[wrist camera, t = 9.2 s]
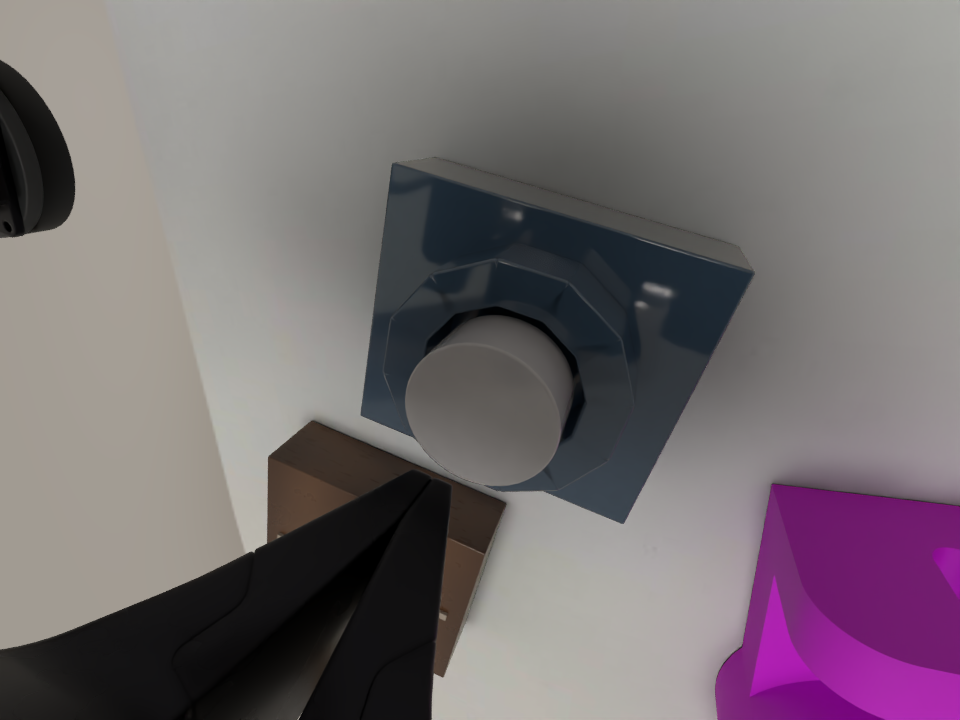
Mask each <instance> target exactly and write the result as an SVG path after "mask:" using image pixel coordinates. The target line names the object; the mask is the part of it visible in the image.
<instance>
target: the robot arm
mask: <svg viewBox="0 0 960 720" xmlns="http://www.w3.org/2000/svg"><path fill="white" fill-rule="evenodd" d="M0 233H1V234H4V235H6V236H9V237H18V236H23V235H24V234H25V227H24V222H23V218H22V214H21V210H20V206H19V201H18V197H17V193H16V189H15V184H14V180H13V176H12V172H11V168H10V163H9V159H8V155H7V151H6V147H5V142H4V138H3V134H2V130H1V126H0ZM452 488H453V487H452V485H451V484H450V483H447V482H445V481H443V480H440V479H438V478H433V479H432V477H431V476H430V475H429V474H426V473H424V472H422V471H419V470H417V469H412V470H410V471H408V472H406V473H404V474H402V475H400V476H398V477H396V478H394V479H392V480H390V481H388V482H386V483H384V484H382V485H380V486H379V487H377V488H375V489H373V490H371V491H369V492H367V493H365V494H363V495H361V496H359V497H357V498H355V499H353V500H351V501H349V502H347V503H345V504H343V505H341V506H339V507H338V508H336V509H334V510H332V511H330V512H328V513H326V514H324V515H322V516H320V517H318V518H316V519H314V520H312V521H310V522H308V523H306V524H304V525H302V526H300V527H298V528H296V529H295V530H293V531H291V532H289V533H287V534H285V535H283V536H281V537H279V538H277V539H275V540H273V541H271V542H269V543H267V544H265V545H263V546H261V547H259V548H257V549H256V550H255V553H254V552H249V553H247V554H245V555H243V556H241V557H239V558H237V559H236V560H234V561H232V562H230V563H228V564H226V565H223V566H221V567H219V568H217V569H215V570H213V571H211V572H209V573H207V574H205V575H203V576H201V577H199V578H196V579H194V580H192V581H189V582H187V583H185V584H182V585H180V586H178V587H175V588H173V589H171V590H169V591H166V592H164V593H161V594H159V595H157V596H154V597H151V598H149V599H146V600H144V601H142V602H139V603H137V604H134V605H132V606H129V607H127V608H124V609H122V610H119V611H117V612H115V613H112V614H110V615H107V616H105V617H102V618H100V619H97V620H95V621H92V622H90V623H87V624H85V625H83V626H80V627H77V628H75V629H73V630H70V631H67V632H65V633H62V634H59V635H57V636H54V637H51V638H48V639H44V640H41V641H38V642H34V643H30V644H27V645H23V646H18V647H13V648H8V649H2V650H0V720H297V719H298V718H299V716H300V715H301V716H300V718H299V720H432V689H433V675H434V663H435V654H436V640H437V632H438V623H439V613H440V604H441V594H442V585H443V575H444V565H445V556H446V546H447V537H448V527H449V518H450V508H451V499H452ZM301 713H302V714H301Z"/></svg>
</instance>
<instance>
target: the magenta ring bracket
mask: <svg viewBox="0 0 960 720" xmlns="http://www.w3.org/2000/svg"><path fill="white" fill-rule="evenodd" d="M715 695H716V706H717V717H718V720H960V506H953V505H945V504H936V503H928V502H919V501H911V500H902V499H894V498H886V497H877V496H869V495H860V494H852V493H843V492H835V491H827V490H818V489H810V488H801V487H793V486H785V485H776V484H772V486H771V491H770V497H769V502H768V508H767V513H766V519H765V524H764V530H763V535H762V541H761V546H760V552H759V557H758V563H757V568H756V574H755V579H754V585H753V590H752V596H751V601H750V607H749V612H748V618H747V624H746V629H745V635H744V640H743V646H742V648H741V649H739V650H738V651H736V652H735V653H734V654H733V655H732V656H731V657H730V658H729V659H728V660H727V661H726V662H725V663H724V665H723V666H722V668H721V670H720V672H719V674H718V676H717V680H716V686H715Z"/></svg>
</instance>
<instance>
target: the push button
mask: <svg viewBox="0 0 960 720" xmlns="http://www.w3.org/2000/svg"><path fill="white" fill-rule="evenodd" d="M573 397H574V382H573V375H572V372H571V369H570V366H569V364H568V362H567V359H566V357H565V356H564V354H563V353H562V351H561V349H560V348H559V347H558V346H557V345H556V343H555V342H554V341H553V340H552V339H551V338H550V337H549V336H548V335H547V334H545V333H544V332H543V331H541V330H540V329H539V328H537V327H535V326H533V325H532V324H530V323H528V322H525V321H523V320H520V319H517V318H513V317H509V316H503V315H487V316H480V317H476V318H473V319H470V320H468V321H465V322H464V323H462V324H460V325H458V326H457V327H456V328H455V329H453V330H452V331H451V332H450V333H449V334H448V335H447V336H446V337H445V338H444V339H443V340H442V341H441V342H440V343H439V344H437V345H436V346H435V347H434V348H433V349H432V350H431V351H430V352H429V353H428V354H427V355H426V356H425V357H424V358H423V359H422V360H421V361H420V362H419V363H418V364H417V366H416V367H415V369H414V370H413V372H412V373H411V376H410V378H409V380H408V384H407V388H406V395H405V408H406V414H407V418H408V422H409V425H410V427H411V430H412V432H413V434H414V436H415V438H416V439H417V441H418V443H419V444H420V445H421V447H422V448H423V450H424V451H425V452H426V453H427V454H428V455H429V456H430V457H431V458H432V459H433V460H434V461H435V462H436V463H437V464H439V465H440V466H441V467H443V468H444V469H445V470H447V471H449V472H450V473H452V474H454V475H456V476H458V477H460V478H462V479H464V480H467V481H470V482H473V483H477V484H481V485H488V486H507V485H513V484H518V483H521V482H523V481H526V480H528V479H530V478H532V477H534V476H535V475H537V474H538V473H539V472H541V471H542V470H543V469H544V468H545V467H546V466H547V465H548V464H549V463H550V461H551V460H552V458H553V457H554V455H555V453H556V451H557V449H558V446H559V443H560V440H561V437H562V434H563V431H564V428H565V425H566V422H567V419H568V416H569V413H570V410H571V406H572V403H573Z"/></svg>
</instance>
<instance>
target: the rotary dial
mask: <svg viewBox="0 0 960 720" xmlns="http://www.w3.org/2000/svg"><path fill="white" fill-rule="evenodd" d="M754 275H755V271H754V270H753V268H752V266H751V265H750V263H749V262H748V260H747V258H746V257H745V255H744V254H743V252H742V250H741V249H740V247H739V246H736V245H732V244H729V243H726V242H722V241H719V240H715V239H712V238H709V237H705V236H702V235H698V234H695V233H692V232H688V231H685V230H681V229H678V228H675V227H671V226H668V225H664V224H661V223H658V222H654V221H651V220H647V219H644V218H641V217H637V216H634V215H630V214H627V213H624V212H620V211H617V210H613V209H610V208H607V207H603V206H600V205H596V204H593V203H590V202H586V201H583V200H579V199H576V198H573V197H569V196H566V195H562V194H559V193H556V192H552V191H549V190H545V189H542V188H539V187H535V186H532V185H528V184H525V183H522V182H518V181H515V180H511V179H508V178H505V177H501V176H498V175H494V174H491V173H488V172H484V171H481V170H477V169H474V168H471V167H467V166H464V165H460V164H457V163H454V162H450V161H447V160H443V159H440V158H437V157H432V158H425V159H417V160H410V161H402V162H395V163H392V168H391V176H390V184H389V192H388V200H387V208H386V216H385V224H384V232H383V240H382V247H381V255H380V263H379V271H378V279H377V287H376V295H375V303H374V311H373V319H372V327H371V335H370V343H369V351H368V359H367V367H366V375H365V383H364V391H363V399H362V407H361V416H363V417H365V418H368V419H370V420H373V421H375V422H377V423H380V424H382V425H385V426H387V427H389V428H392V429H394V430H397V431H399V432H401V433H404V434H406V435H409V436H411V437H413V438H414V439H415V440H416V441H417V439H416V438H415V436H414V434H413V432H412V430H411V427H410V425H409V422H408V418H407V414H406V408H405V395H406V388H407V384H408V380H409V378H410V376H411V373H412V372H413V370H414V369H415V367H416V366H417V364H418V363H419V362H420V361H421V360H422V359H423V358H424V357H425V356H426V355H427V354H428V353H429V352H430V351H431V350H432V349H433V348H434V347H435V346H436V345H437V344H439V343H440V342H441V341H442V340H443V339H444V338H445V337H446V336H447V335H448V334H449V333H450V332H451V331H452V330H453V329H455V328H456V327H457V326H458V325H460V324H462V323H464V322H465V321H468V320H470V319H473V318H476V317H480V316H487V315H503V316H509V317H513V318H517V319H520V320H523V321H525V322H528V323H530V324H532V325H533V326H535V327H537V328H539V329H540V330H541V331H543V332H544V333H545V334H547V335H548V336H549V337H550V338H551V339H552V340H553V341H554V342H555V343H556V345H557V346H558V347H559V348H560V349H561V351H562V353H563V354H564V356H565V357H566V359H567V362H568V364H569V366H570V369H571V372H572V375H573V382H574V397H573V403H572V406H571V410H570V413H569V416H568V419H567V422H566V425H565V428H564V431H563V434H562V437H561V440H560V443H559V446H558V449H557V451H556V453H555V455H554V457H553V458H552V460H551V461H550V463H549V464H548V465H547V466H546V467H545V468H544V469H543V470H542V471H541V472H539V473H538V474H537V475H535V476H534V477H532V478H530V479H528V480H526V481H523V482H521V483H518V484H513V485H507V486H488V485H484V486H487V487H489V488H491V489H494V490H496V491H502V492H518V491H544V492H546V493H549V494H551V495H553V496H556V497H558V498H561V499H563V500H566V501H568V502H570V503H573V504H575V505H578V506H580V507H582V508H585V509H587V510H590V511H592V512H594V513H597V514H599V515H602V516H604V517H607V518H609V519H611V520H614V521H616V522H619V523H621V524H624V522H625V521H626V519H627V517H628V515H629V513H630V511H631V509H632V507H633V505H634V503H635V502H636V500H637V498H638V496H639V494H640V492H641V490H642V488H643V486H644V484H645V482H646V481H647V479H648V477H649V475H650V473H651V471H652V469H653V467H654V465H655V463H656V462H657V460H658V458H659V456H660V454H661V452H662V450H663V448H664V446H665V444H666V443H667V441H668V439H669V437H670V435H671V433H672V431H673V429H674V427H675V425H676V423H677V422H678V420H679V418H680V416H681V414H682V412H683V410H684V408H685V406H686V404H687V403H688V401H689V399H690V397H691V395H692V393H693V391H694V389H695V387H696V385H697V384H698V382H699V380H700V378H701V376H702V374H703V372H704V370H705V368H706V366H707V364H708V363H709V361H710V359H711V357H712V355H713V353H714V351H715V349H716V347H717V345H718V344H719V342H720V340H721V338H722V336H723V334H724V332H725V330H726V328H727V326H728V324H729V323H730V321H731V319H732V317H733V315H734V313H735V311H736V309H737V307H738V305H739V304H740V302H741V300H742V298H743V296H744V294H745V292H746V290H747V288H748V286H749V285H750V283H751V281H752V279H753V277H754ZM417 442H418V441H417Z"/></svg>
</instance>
